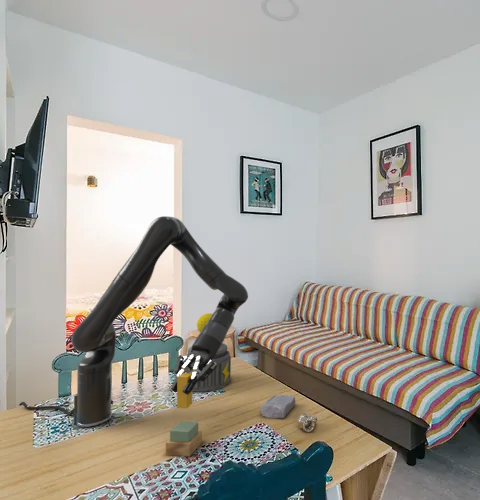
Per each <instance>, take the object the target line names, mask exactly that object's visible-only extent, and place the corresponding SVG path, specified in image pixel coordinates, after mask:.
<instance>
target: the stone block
mask: <svg viewBox="0 0 480 500" xmlns="http://www.w3.org/2000/svg"><path fill="white" fill-rule="evenodd" d="M295 405H296V397H295V396H292V395H288V394H277V395H273V396H270V398H268V399H267V400H266V401H265V403H263V404H262V406H261V407H260V414H261V416H263V417H265V418H268V419H284V418H285V417H286V416H287V415H288V414H289V413H290V411H291V410H292V409H293V408H294V407H295Z"/></svg>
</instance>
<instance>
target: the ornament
mask: <svg viewBox="0 0 480 500" xmlns="http://www.w3.org/2000/svg"><path fill="white" fill-rule="evenodd" d="M296 422H297V424H296V425H297V427H299V429H300V428H301V429H302V430H303V431H304V432H305V433H310V432H312V431H313V429H315V425H316V424H317V423H318V416H317V415H309V414H308V413H307V412H304V411H303V414H300V416H299V417H298V418H297V420H296Z"/></svg>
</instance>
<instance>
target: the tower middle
mask: <svg viewBox="0 0 480 500" xmlns="http://www.w3.org/2000/svg"><path fill="white" fill-rule="evenodd" d="M198 431H199V421H184V420H183V421H182V420H181V421H179V422H178V423H177V424H176V425H175V426H174V427H172V428H171V429H170V431H169V439H170V441H174V442H189V441H190V440H191V439H192V438H193V437H194V436H195V435H196V434H197V433H198Z"/></svg>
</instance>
